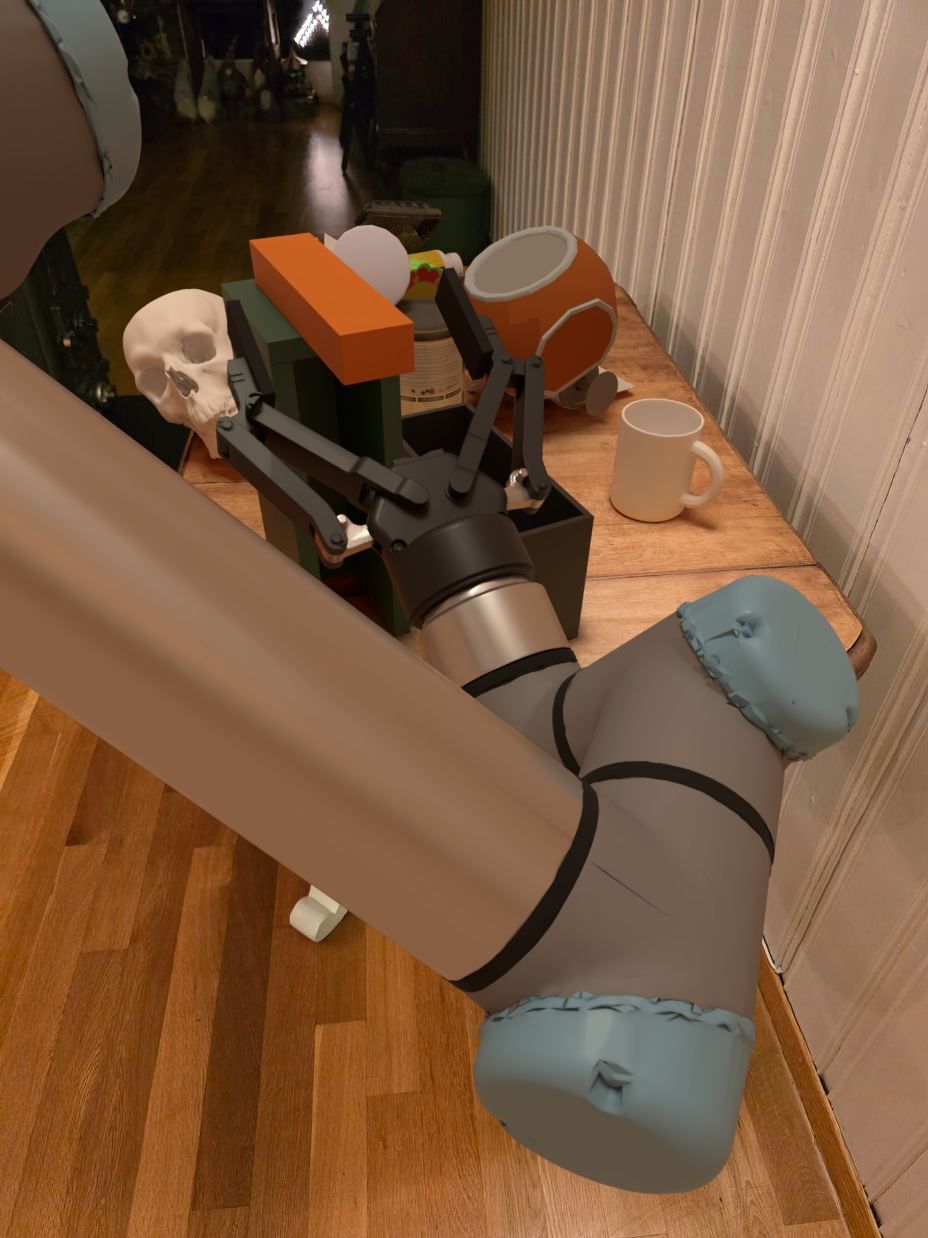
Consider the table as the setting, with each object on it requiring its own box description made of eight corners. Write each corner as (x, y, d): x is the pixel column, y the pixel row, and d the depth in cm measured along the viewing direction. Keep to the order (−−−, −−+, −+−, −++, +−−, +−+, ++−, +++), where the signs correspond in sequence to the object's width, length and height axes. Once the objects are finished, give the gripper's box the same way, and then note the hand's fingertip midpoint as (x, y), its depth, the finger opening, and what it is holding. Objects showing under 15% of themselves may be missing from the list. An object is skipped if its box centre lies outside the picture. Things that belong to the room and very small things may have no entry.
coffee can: (365, 425, 102) (357, 311, 93) (428, 400, 108) (426, 290, 98) (418, 456, 97) (415, 338, 87) (482, 428, 102) (485, 315, 93)
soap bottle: (352, 327, 91) (339, 334, 114) (425, 290, 92) (397, 305, 115) (313, 247, 88) (307, 271, 111) (388, 209, 89) (367, 241, 112)
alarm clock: (495, 345, 86) (408, 258, 93) (519, 442, 102) (443, 361, 109) (640, 243, 87) (543, 166, 95) (641, 354, 103) (558, 280, 111)
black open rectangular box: (578, 636, 73) (594, 516, 65) (486, 668, 70) (491, 545, 62) (465, 512, 88) (467, 401, 80) (386, 533, 85) (379, 420, 77)
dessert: (509, 381, 112) (510, 346, 109) (578, 362, 117) (581, 328, 114) (563, 415, 105) (566, 380, 102) (634, 394, 110) (639, 359, 107)
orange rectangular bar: (415, 372, 49) (414, 322, 47) (344, 385, 47) (339, 334, 45) (314, 274, 62) (309, 232, 60) (255, 283, 60) (248, 239, 58)
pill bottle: (402, 262, 130) (465, 250, 134) (384, 253, 134) (446, 242, 139) (405, 304, 134) (466, 291, 138) (387, 294, 138) (448, 282, 143)
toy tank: (389, 257, 149) (421, 302, 149) (282, 262, 127) (320, 315, 127) (436, 198, 140) (470, 246, 140) (330, 192, 118) (370, 249, 118)
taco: (453, 350, 120) (454, 240, 110) (481, 361, 117) (483, 249, 107) (371, 383, 111) (363, 266, 101) (398, 396, 109) (393, 277, 99)
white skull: (174, 485, 88) (72, 335, 87) (250, 485, 108) (168, 362, 107) (272, 410, 85) (167, 254, 84) (333, 424, 105) (248, 297, 104)
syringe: (628, 379, 103) (475, 308, 120) (603, 358, 98) (447, 288, 115) (601, 426, 105) (454, 350, 122) (574, 409, 99) (425, 332, 117)
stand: (411, 631, 73) (397, 319, 55) (314, 662, 70) (267, 342, 52) (362, 559, 81) (336, 266, 63) (273, 584, 78) (220, 283, 60)
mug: (730, 515, 88) (753, 427, 82) (690, 548, 84) (711, 458, 77) (635, 475, 94) (650, 390, 88) (593, 503, 90) (605, 416, 83)
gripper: (251, 697, 44) (140, 374, 49) (635, 574, 53) (505, 310, 58) (251, 651, 37) (123, 283, 43) (692, 519, 46) (538, 226, 51)
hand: (343, 298), depth 50 cm, fingers open, 13 cm apart
